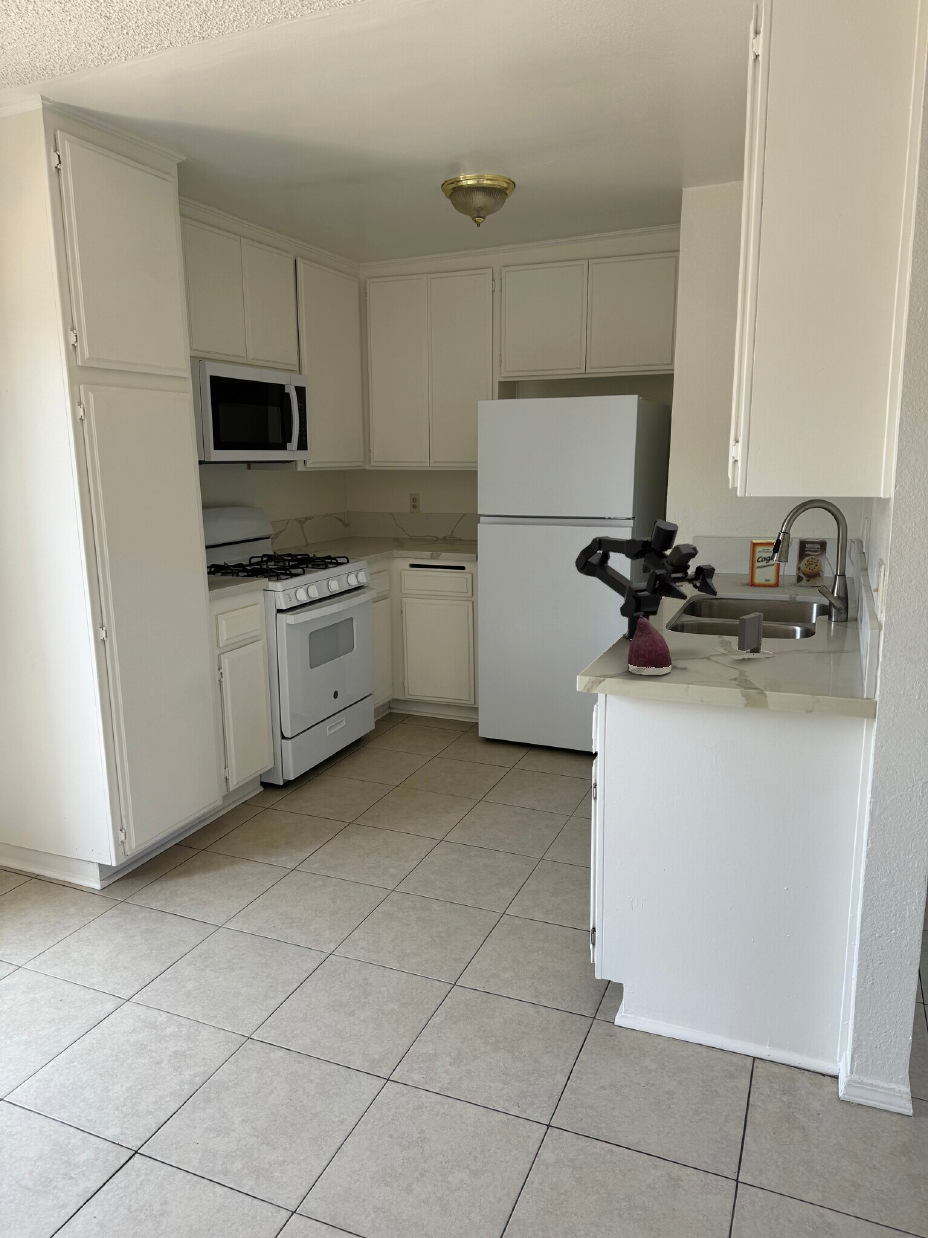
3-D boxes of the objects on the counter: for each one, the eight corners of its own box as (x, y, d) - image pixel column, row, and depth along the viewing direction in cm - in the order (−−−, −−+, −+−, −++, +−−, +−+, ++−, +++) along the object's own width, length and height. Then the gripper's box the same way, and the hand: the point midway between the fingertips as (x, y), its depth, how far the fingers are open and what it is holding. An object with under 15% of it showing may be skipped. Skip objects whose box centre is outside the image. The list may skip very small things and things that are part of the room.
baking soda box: (750, 586, 306) (752, 541, 302) (748, 583, 312) (750, 538, 308) (778, 586, 304) (781, 541, 300) (775, 583, 310) (778, 539, 307)
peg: (735, 655, 208) (737, 617, 206) (753, 649, 213) (755, 612, 211) (757, 660, 204) (759, 620, 202) (774, 653, 209) (776, 615, 207)
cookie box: (796, 586, 304) (799, 540, 301) (794, 583, 310) (797, 538, 307) (824, 587, 302) (827, 541, 298) (822, 584, 308) (825, 538, 304)
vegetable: (640, 690, 198) (631, 632, 192) (621, 673, 208) (611, 617, 202) (681, 676, 200) (673, 618, 194) (660, 659, 209) (652, 603, 204)
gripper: (641, 540, 213) (679, 570, 201) (701, 535, 220) (741, 563, 209) (631, 579, 218) (667, 611, 207) (689, 573, 226) (727, 603, 214)
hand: (701, 596), depth 209 cm, fingers open, 9 cm apart
